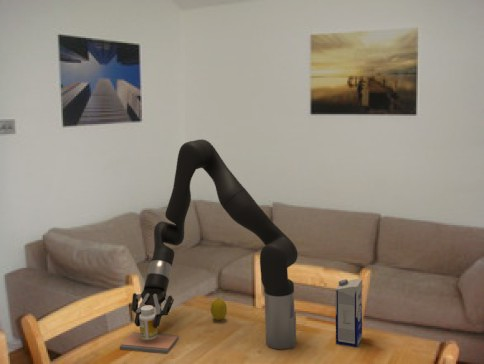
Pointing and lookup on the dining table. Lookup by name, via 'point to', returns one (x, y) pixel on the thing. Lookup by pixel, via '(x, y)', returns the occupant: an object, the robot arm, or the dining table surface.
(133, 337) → the band board
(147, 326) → the supplement bottle
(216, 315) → the lemon
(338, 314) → the milk carton
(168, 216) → the robot arm
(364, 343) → the dining table surface
